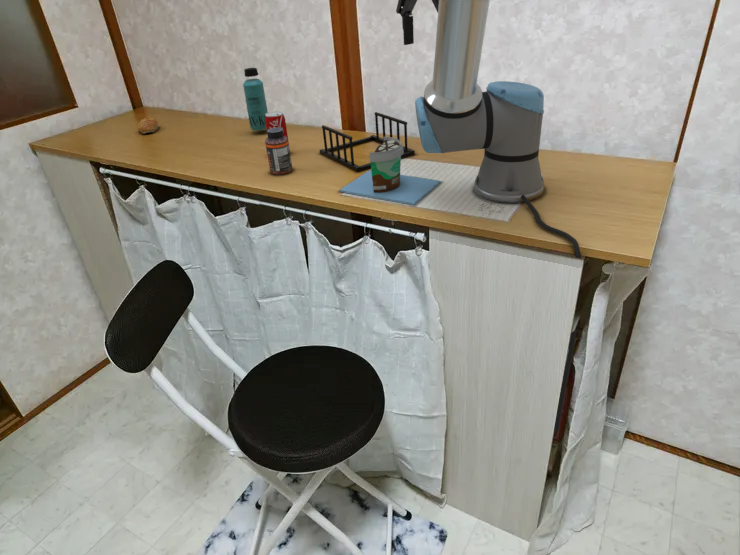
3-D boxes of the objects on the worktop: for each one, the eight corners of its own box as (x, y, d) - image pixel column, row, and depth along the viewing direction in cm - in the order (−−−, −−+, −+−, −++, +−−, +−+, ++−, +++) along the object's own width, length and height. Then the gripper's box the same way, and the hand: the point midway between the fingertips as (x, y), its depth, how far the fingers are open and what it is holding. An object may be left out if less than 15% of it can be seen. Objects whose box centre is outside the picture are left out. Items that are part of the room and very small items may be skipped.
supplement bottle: (268, 170, 143) (260, 128, 137) (289, 165, 145) (283, 124, 139) (272, 177, 138) (265, 134, 132) (295, 172, 140) (288, 130, 134)
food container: (397, 196, 121) (395, 154, 116) (371, 195, 123) (368, 153, 117) (410, 176, 131) (409, 136, 125) (386, 175, 132) (384, 136, 127)
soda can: (272, 158, 151) (265, 116, 144) (270, 152, 155) (262, 111, 149) (291, 155, 152) (285, 113, 145) (288, 150, 156) (282, 108, 150)
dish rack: (414, 154, 145) (413, 123, 141) (357, 172, 137) (354, 139, 133) (373, 138, 160) (372, 110, 155) (319, 153, 152) (316, 124, 147)
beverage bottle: (250, 131, 176) (238, 67, 165) (270, 128, 177) (259, 65, 167) (252, 136, 170) (240, 71, 160) (272, 133, 172) (262, 68, 161)
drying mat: (440, 182, 127) (440, 180, 127) (414, 205, 117) (413, 203, 117) (369, 171, 137) (369, 169, 136) (339, 191, 127) (339, 189, 127)
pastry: (159, 133, 182) (155, 121, 180) (138, 136, 180) (135, 125, 178) (159, 126, 189) (156, 115, 187) (139, 129, 188) (136, 118, 186)
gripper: (474, -56, 115) (470, 49, 126) (404, -52, 133) (406, 40, 144) (448, -53, 112) (447, 54, 123) (379, -49, 129) (384, 44, 141)
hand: (425, 46), depth 134 cm, fingers open, 13 cm apart
